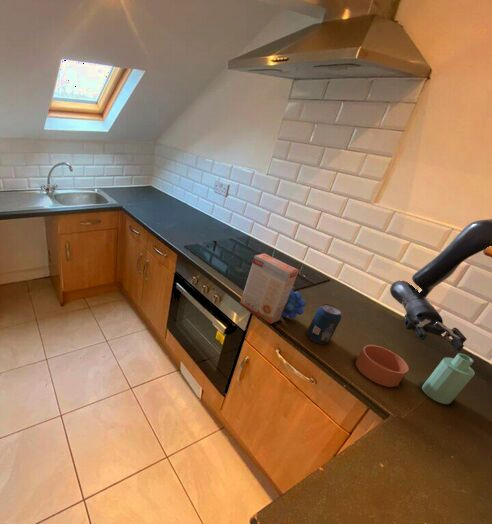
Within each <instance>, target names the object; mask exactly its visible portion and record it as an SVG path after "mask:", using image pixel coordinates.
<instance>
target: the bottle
mask: <svg viewBox="0 0 492 524" xmlns="http://www.w3.org/2000/svg"><path fill="white" fill-rule="evenodd" d="M473 363H474V359H473V358H472V357H470V356H469V355H467V354H464V353H457V354H456V356H455V357H454V358H453V357H449V356H445V357H443V358H442V360H441V361H440V362H439V364H438V365H437V366H436V368H435V369H433V372H432V373H431V374H430V375H429V377H428V378H427V379H426V380H425V382H424V383H423V385H422V387H421V390H422V392H423V393H424V394H425V395H426V396H427V397H429V398H430V399H432V400H433V401H435V402H437V403H440V404H442V405H443V404H444V405H449V404H451V403H452V402H453V401H454V399H455V398H456V397H457V396H458V395H459V394H460V393H461V391H463V389H464V388H465V387H466V385H467V384H468V383H469V382H470V380H471V379H473V377H474V376H475V374H476V372H475V371H474V369H473V368H472V367H471V366H472V365H473Z"/></svg>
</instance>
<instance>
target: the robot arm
mask: <svg viewBox="0 0 492 524" xmlns="http://www.w3.org/2000/svg"><path fill="white" fill-rule="evenodd" d="M489 246H492V218H491V219H489V218H488V219H479V220H475V221H473V222H470V223H468V225H466V226H465V227H464V228H462V230H461V231H460V232H459V233H458V234H457V235H456V236H455V238H453V240H452V241H451V242H450V243H448V245H447V246H446V247H445V248H444V249H443V250H442V251H441V252H440V253H439V254H438V255H437V256H435V257H434V258H433V259H432V260H430V261H429V262H428V263H427V264H425V265H424V266H423V267H422V268H420V269H419V270H417V271H416V272H415V273H414V274H413V275H412V277H411V280H412V282H413V284H414V285H416V286H419V287H420V288H421V289H422V291H421V292H420V293H419V292H418V290H417V289H415V288H414V287H413V286H412V285H410V284H409V283H410V282H409V283H408V281H406V280H402V281H400V280H396V281H394V282H393V283H392V284H390V287H389V294H390V295H391V297H392V298H393V299H394V300H395V301H397V303H399V304H400V305H401V306H403V307H402V308H404V311H405V312H406V313H405V314H404V316H403V318H402V320H401V321H402V323H403V325H404V328H405V329H406V330H409V331H410V330H412V332H413V333H415V335H416V337H418V338H419V340H422V341H424V340H425V339H426V338H427V336H428V334H427V333H429V334H432V335H435V336H437V337H438V338H440V339H441V340H443V341H447V342H449V343H450V344H451V346H452V347H453V349H454V351H457V352H460V351H462V350H463V349H464V348H465V345H464V343H465V342H466V341H467V339H468V338H467V337H466V336H465V335H464V333H462V332H461V330H460V329H458V328H457V327H452V328H448V326H446V325H445V324H444V322H443V321H444V320H443V317H442V316H441V315H440V313H439V312H438V310H437V309H436V308H435V307H434V305H432V304H431V303H430V301H429V300H428V298H427V297H428V295H429V294H430V293H431V292H432V291H433V289H435V288H436V287H437V286H438V285H440V284H442V283H443V282H444V281H446V280H447V279H449V278H450V277H451V276H452V275H453V274H454V273H455V272H456V270H457V269H458V268H459V266H460V265H461V264H462V263H463V262H464V261H466V260H467V259H469V258H471V257H473V256H475V255H476V254H479V253H481V252H483V251H486V250H485V249H486V248H487V247H489ZM443 334H444V335H443ZM450 337H451V338H452V339H451V338H450Z"/></svg>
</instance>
